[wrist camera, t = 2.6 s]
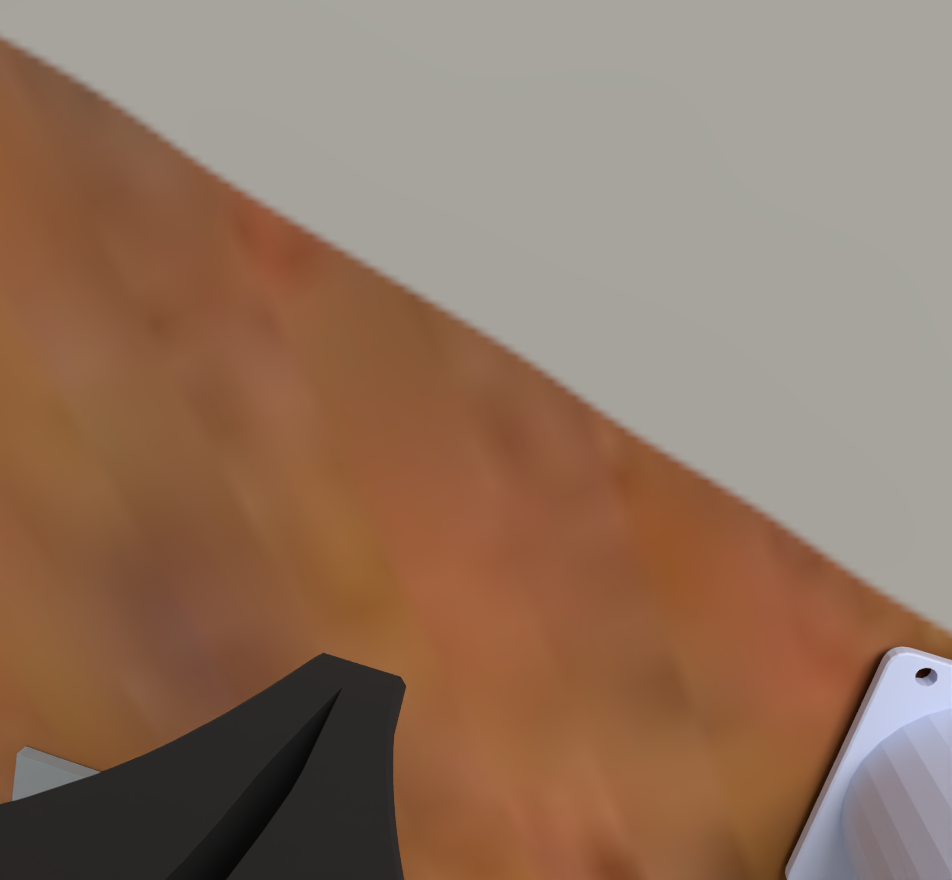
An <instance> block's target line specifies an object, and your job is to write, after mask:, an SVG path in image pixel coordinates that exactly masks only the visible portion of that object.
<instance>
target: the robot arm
mask: <svg viewBox="0 0 952 880" xmlns="http://www.w3.org/2000/svg"><path fill="white" fill-rule="evenodd" d="M923 668H931V672H930V674H929V675H928V676H926V677H924V678H916V677H915V675H916V673H917V672H918V671H919V670H920V669H923ZM405 689H406V685H405V683H404V682H403V680H402V678H401V677H399V676H396V675H393V674H390V673H387V672H383V671H380V670H377V669H374V668H370V667H367V666H364V665H361V664H358V663H354V662H351V661H348V660H345V659H341V658H338V657H335V656H332V655H329V654H325V653H322V654H320V655H318V656H316V657H315V658H313V659H312V660H310V661H308V662H307V663H305V664H304V665H302V666H301V667H299V668H298V669H296V670H295V671H293V672H292V673H290V674H289V675H287V676H286V677H284V678H283V679H281V680H279V681H278V682H276V683H275V684H273V685H272V686H270V687H268V688H267V689H265V690H264V691H262V692H260V693H259V694H257V695H255V696H254V697H252V698H250V699H249V700H247V701H245V702H244V703H242V704H240V705H239V706H237V707H235V708H234V709H232V710H230V711H229V712H227V713H225V714H223V715H222V716H220V717H218V718H216V719H214V720H212V721H211V722H209V723H207V724H205V725H203V726H201V727H199V728H197V729H195V730H193V731H191V732H190V733H188V734H186V735H184V736H182V737H180V738H178V739H176V740H174V741H172V742H170V743H168V744H166V745H164V746H162V747H160V748H158V749H155V750H153V751H151V752H149V753H147V754H145V755H142V756H140V757H138V758H135V759H133V760H130V761H128V762H125V763H123V764H120V765H118V766H116V767H113V768H111V769H108V770H105V771H103V772H100V773H98V774H95V775H92V776H89V777H86V778H83V779H80V780H77V781H74V782H71V783H68V784H65V785H62V786H59V787H56V788H53V789H50V790H46V791H43V792H40V793H37V794H34V795H31V796H28V797H25V798H22V799H18V800H15V801H11V802H7V803H4V804H0V880H404V877H403V871H402V865H401V859H400V852H399V846H398V838H397V829H396V820H395V806H394V791H393V744H394V733H395V729H396V725H397V721H398V717H399V713H400V709H401V705H402V701H403V697H404V693H405ZM785 875H786V879H787V880H952V660H949V659H946V658H942V657H939V656H936V655H932V654H929V653H926V652H923V651H919V650H916V649H913V648H909V647H897V648H893V649H891V650H890V651H888V652H887V653H886V654H885V656H884V657H883V658H882V660H881V663H880V665H879V667H878V669H877V671H876V673H875V676H874V678H873V680H872V682H871V684H870V686H869V689H868V691H867V693H866V695H865V697H864V699H863V702H862V704H861V706H860V708H859V710H858V712H857V715H856V717H855V719H854V721H853V723H852V725H851V728H850V730H849V732H848V734H847V736H846V738H845V741H844V743H843V745H842V747H841V749H840V751H839V754H838V756H837V758H836V760H835V762H834V764H833V766H832V769H831V771H830V773H829V775H828V777H827V779H826V782H825V784H824V786H823V788H822V790H821V792H820V795H819V797H818V799H817V801H816V803H815V805H814V808H813V810H812V812H811V814H810V816H809V818H808V821H807V823H806V825H805V827H804V829H803V831H802V834H801V836H800V838H799V840H798V842H797V844H796V847H795V849H794V851H793V853H792V855H791V857H790V860H789V862H788V864H787V866H786V870H785Z"/></svg>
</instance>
